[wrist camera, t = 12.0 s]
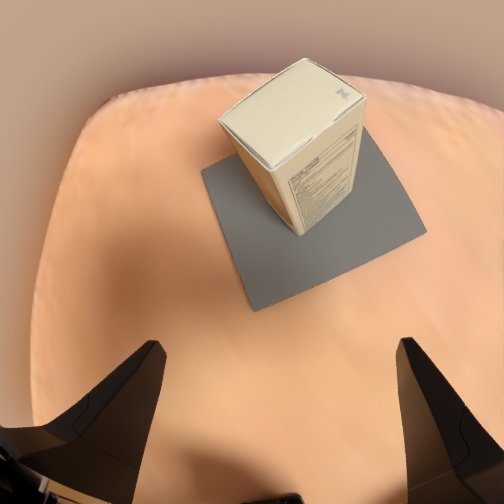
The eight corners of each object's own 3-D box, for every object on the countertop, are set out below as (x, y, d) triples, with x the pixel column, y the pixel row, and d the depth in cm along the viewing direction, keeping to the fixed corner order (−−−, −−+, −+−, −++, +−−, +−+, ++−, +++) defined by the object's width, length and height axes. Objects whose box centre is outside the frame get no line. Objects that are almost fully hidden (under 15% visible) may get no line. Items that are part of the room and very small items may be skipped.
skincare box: (318, 158, 23) (308, 52, 12) (353, 191, 22) (373, 93, 10) (263, 203, 24) (211, 117, 12) (296, 241, 22) (269, 171, 11)
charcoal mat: (423, 233, 21) (427, 231, 20) (255, 311, 23) (253, 311, 22) (348, 111, 24) (349, 107, 24) (204, 174, 27) (200, 171, 26)
